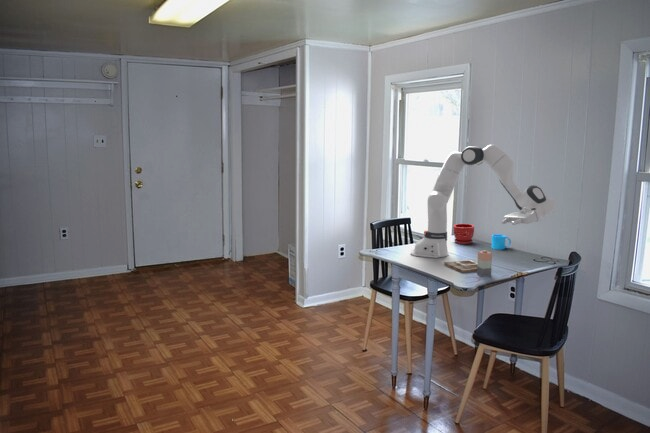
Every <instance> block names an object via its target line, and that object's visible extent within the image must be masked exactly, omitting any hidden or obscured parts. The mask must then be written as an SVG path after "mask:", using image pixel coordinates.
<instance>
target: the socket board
mask: <svg viewBox="0 0 650 433" xmlns="http://www.w3.org/2000/svg"><path fill="white" fill-rule="evenodd" d="M443 264H444V265H443V266H446V267H448V268H450V269H452V270H455V271H457V272H460V273H461V274H468V273H475V272H476V273H477V264H478V260H474V259H464V260H462V259H461V260H456V261H454V260H453V261H445V262H444V263H443Z"/></svg>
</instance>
